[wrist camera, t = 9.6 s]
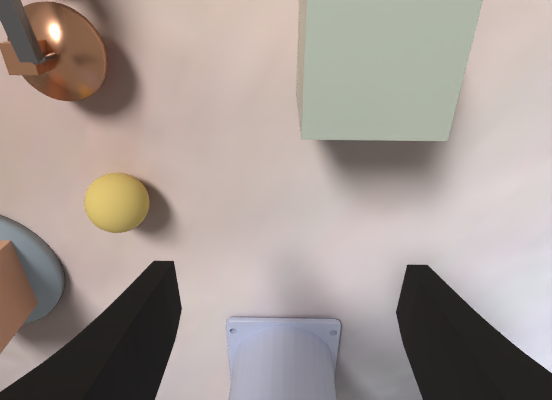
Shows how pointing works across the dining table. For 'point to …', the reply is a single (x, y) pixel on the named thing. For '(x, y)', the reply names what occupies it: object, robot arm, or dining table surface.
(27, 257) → the saucer
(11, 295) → the peach matte cube
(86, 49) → the balance
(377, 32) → the sage green cube
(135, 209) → the ball
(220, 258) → the dining table surface
